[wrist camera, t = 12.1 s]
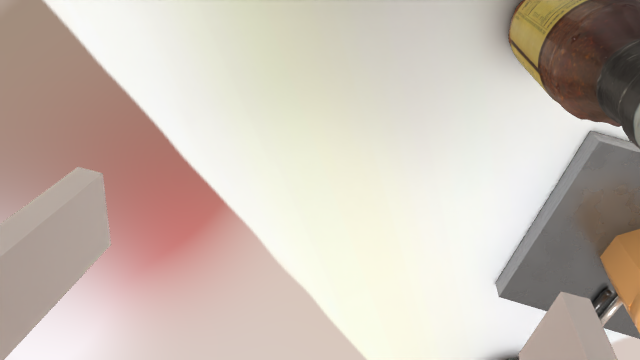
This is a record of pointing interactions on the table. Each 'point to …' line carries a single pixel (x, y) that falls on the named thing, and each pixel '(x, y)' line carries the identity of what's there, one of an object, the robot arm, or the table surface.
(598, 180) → the junction plate
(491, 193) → the table surface
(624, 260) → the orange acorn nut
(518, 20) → the sauce bottle
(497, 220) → the table surface
